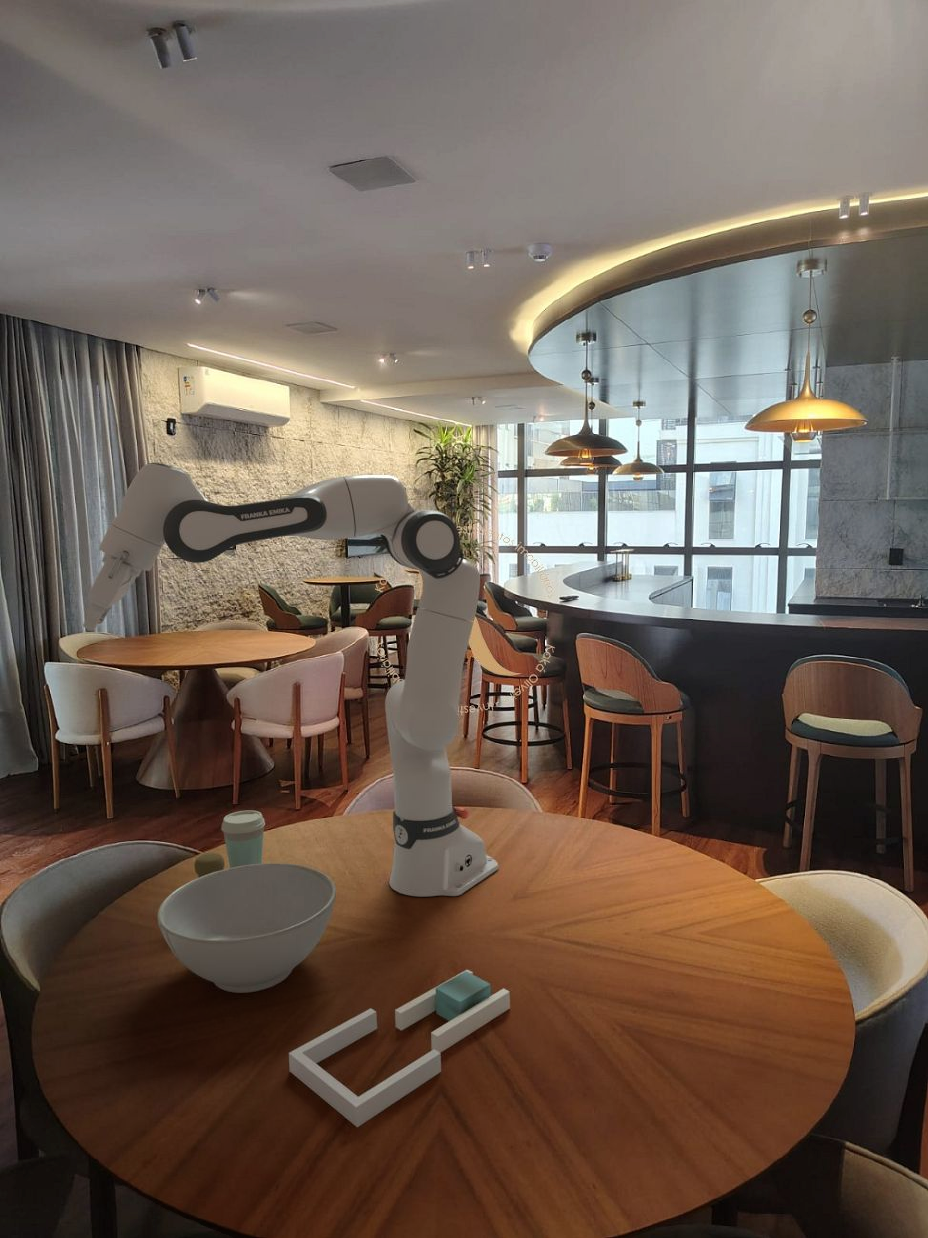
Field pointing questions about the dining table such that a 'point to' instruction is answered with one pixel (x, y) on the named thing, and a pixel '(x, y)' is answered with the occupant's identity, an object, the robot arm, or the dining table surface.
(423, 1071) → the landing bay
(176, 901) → the decorative bowl
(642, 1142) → the dining table surface
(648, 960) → the dining table surface
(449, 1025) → the chute
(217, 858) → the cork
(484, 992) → the teal block
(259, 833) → the coffee cup
